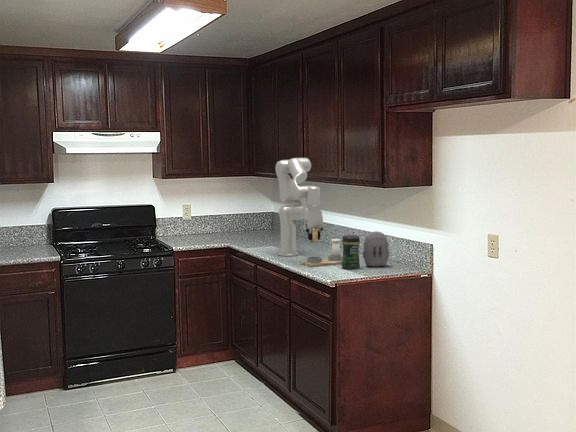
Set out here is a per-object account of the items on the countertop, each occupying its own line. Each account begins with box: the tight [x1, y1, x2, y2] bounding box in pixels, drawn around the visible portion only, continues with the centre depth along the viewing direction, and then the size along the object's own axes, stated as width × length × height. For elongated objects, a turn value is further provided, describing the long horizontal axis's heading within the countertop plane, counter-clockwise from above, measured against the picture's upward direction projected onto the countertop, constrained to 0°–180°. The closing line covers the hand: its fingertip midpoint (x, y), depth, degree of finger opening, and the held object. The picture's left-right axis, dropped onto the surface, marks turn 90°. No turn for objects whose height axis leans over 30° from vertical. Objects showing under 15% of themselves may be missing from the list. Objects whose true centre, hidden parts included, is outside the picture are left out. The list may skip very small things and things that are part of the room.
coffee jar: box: [341, 234, 361, 270], centre depth 359 cm, size 10×8×19 cm
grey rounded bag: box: [362, 231, 390, 268], centre depth 363 cm, size 15×8×20 cm, turn 92°
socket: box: [306, 256, 323, 263], centre depth 373 cm, size 8×8×2 cm
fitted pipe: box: [327, 238, 343, 261], centre depth 378 cm, size 8×8×12 cm
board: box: [299, 258, 342, 268], centre depth 376 cm, size 14×24×2 cm, turn 113°
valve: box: [309, 228, 319, 244], centre depth 371 cm, size 6×5×9 cm
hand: (314, 239), depth 372 cm, fingers closed on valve, 4 cm apart
